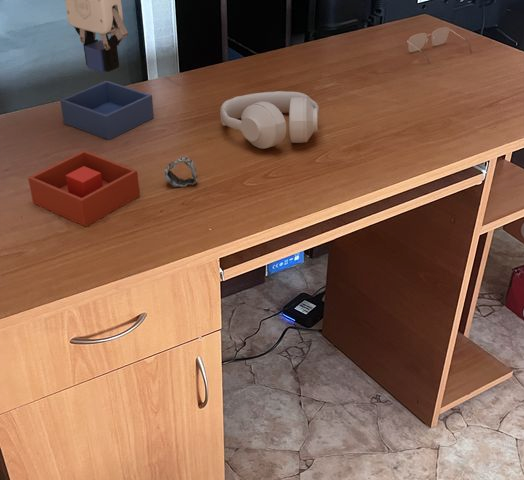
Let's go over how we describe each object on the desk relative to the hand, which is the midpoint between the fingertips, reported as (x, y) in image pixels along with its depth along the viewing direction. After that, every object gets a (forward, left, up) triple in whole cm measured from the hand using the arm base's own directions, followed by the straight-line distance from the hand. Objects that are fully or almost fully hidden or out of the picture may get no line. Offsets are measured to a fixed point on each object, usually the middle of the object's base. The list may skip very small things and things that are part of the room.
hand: (102, 65), depth 145 cm
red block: (+19, -24, -10) cm, 32 cm away
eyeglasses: (+34, +72, -11) cm, 80 cm away
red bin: (+19, -24, -11) cm, 32 cm away
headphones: (+28, +15, -11) cm, 33 cm away
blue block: (0, 0, 0) cm, 0 cm away
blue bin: (0, 0, -11) cm, 11 cm away
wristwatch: (+28, -11, -11) cm, 32 cm away
